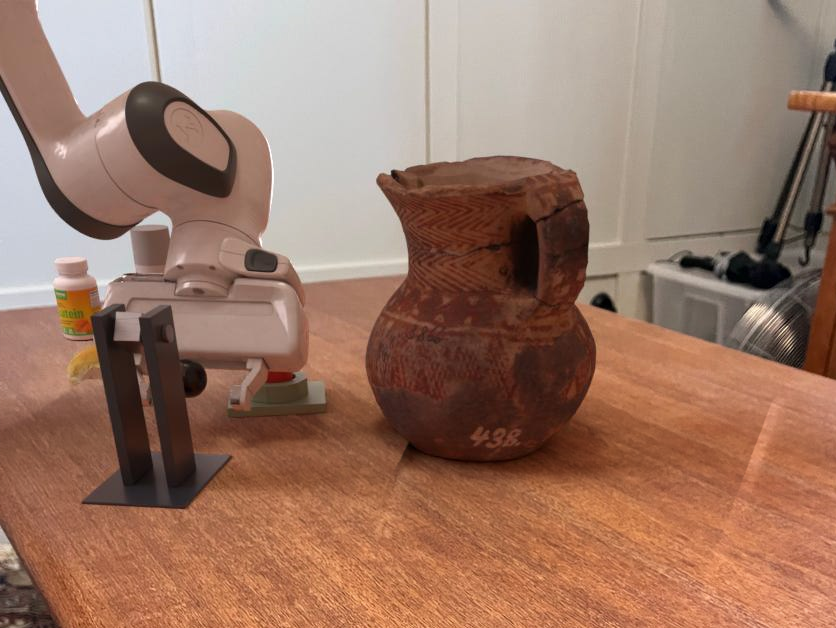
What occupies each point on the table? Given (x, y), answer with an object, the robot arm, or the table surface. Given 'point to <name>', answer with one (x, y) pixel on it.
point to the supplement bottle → (76, 297)
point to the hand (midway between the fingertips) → (191, 406)
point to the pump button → (279, 377)
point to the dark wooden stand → (139, 466)
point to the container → (150, 248)
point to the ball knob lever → (131, 341)
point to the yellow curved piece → (84, 366)
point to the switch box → (285, 398)
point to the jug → (485, 308)
